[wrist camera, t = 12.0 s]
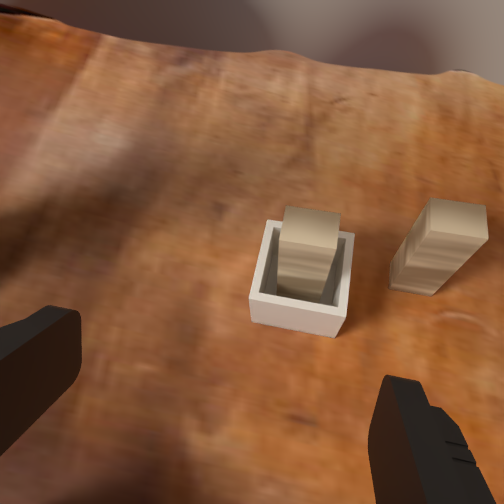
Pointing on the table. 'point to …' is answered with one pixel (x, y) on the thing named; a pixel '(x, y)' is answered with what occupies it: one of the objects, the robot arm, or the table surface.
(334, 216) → the tall square pillar
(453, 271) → the beige rectangular block
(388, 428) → the robot arm
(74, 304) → the table surface
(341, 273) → the open square box
